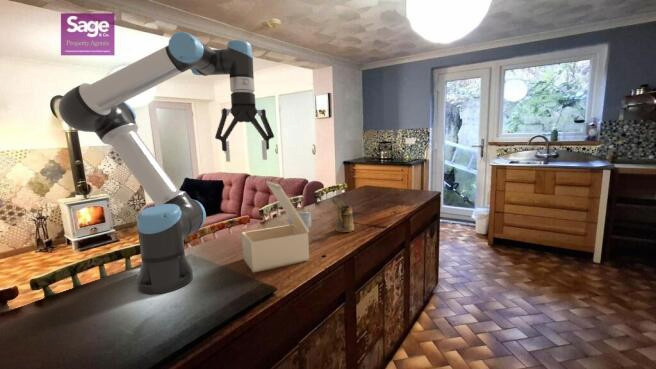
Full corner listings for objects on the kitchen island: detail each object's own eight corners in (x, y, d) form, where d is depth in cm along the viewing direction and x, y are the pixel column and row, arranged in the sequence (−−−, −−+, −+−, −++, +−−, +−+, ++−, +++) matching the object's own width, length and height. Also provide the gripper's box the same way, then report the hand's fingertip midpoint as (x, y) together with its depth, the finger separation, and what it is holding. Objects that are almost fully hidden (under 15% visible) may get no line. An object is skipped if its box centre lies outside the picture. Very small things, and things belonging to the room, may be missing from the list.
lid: (278, 186, 101) (280, 184, 101) (265, 182, 113) (267, 180, 114) (308, 232, 108) (310, 231, 108) (293, 223, 120) (295, 222, 120)
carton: (253, 272, 100) (251, 243, 99) (243, 258, 112) (241, 232, 111) (309, 260, 109) (308, 233, 108) (294, 248, 122) (293, 224, 120)
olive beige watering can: (327, 234, 140) (326, 195, 137) (341, 226, 151) (340, 190, 149) (345, 236, 135) (344, 196, 133) (357, 228, 147) (357, 191, 144)
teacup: (300, 235, 139) (300, 218, 138) (283, 231, 146) (283, 215, 144) (320, 228, 150) (319, 212, 149) (303, 225, 156) (302, 209, 155)
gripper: (204, 88, 91) (210, 163, 94) (281, 92, 102) (284, 159, 105) (202, 92, 97) (207, 161, 100) (274, 96, 108) (277, 158, 111)
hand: (247, 160), depth 102 cm, fingers open, 11 cm apart
